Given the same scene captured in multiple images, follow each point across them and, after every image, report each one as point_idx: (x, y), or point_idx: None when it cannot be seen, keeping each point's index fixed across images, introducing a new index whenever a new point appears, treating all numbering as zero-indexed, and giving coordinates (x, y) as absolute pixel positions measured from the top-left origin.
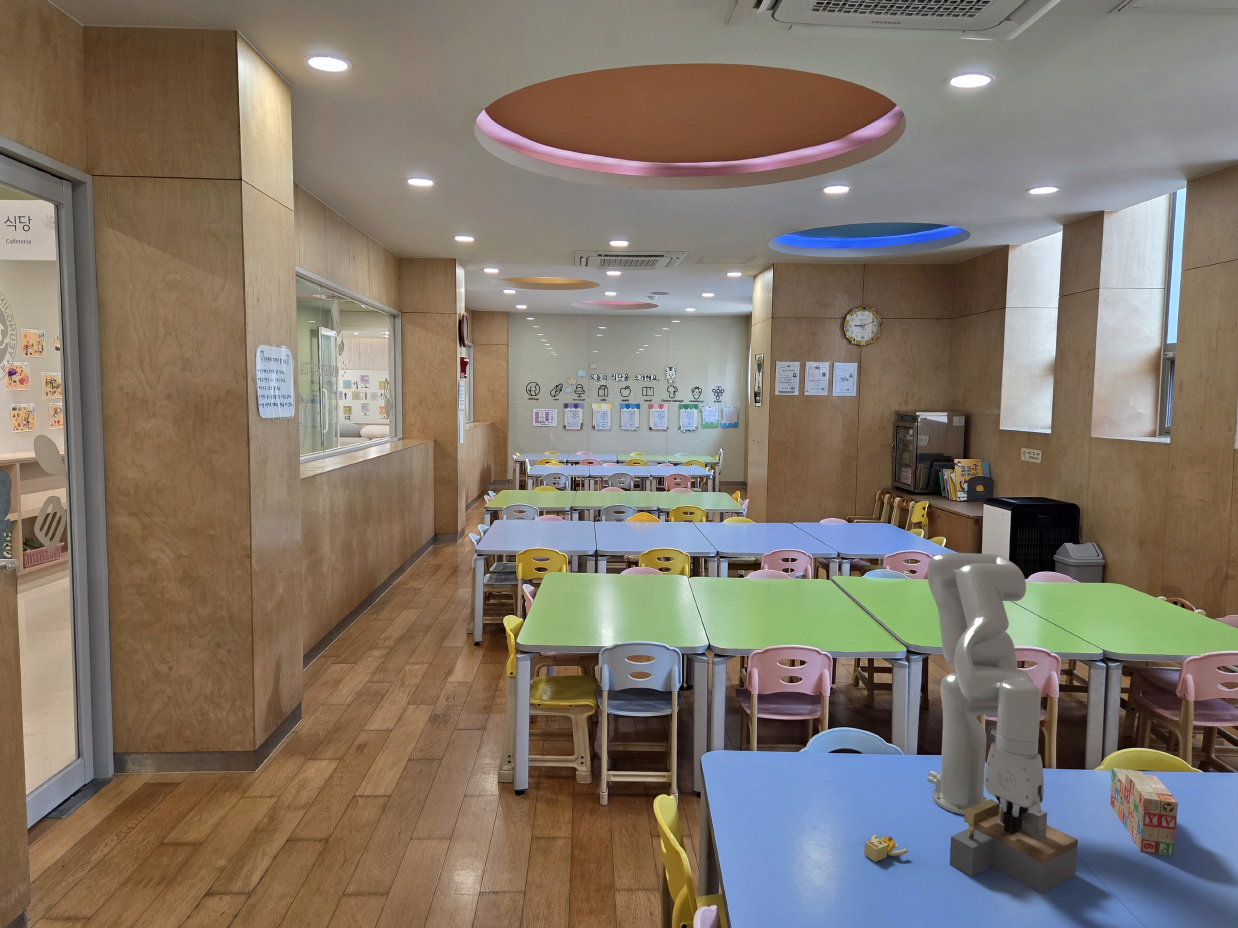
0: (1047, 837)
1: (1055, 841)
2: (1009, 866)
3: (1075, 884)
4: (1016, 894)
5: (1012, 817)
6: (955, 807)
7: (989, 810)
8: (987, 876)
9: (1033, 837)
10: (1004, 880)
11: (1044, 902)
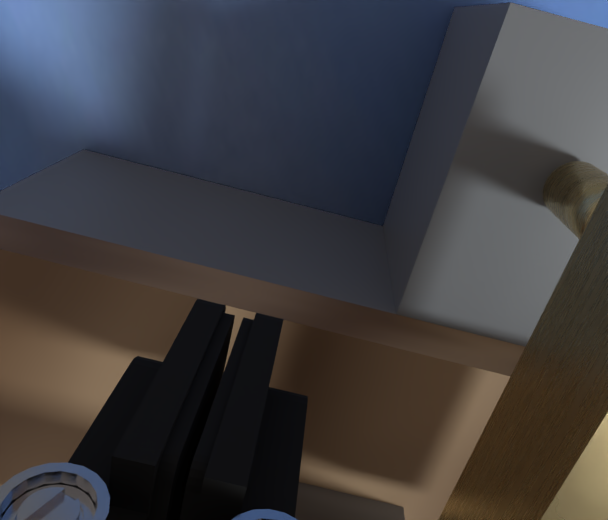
0: None
1: None
2: (273, 218)
3: None
4: (171, 17)
5: (125, 442)
6: None
7: (502, 517)
8: (371, 91)
9: None
10: (279, 124)
11: (33, 59)
